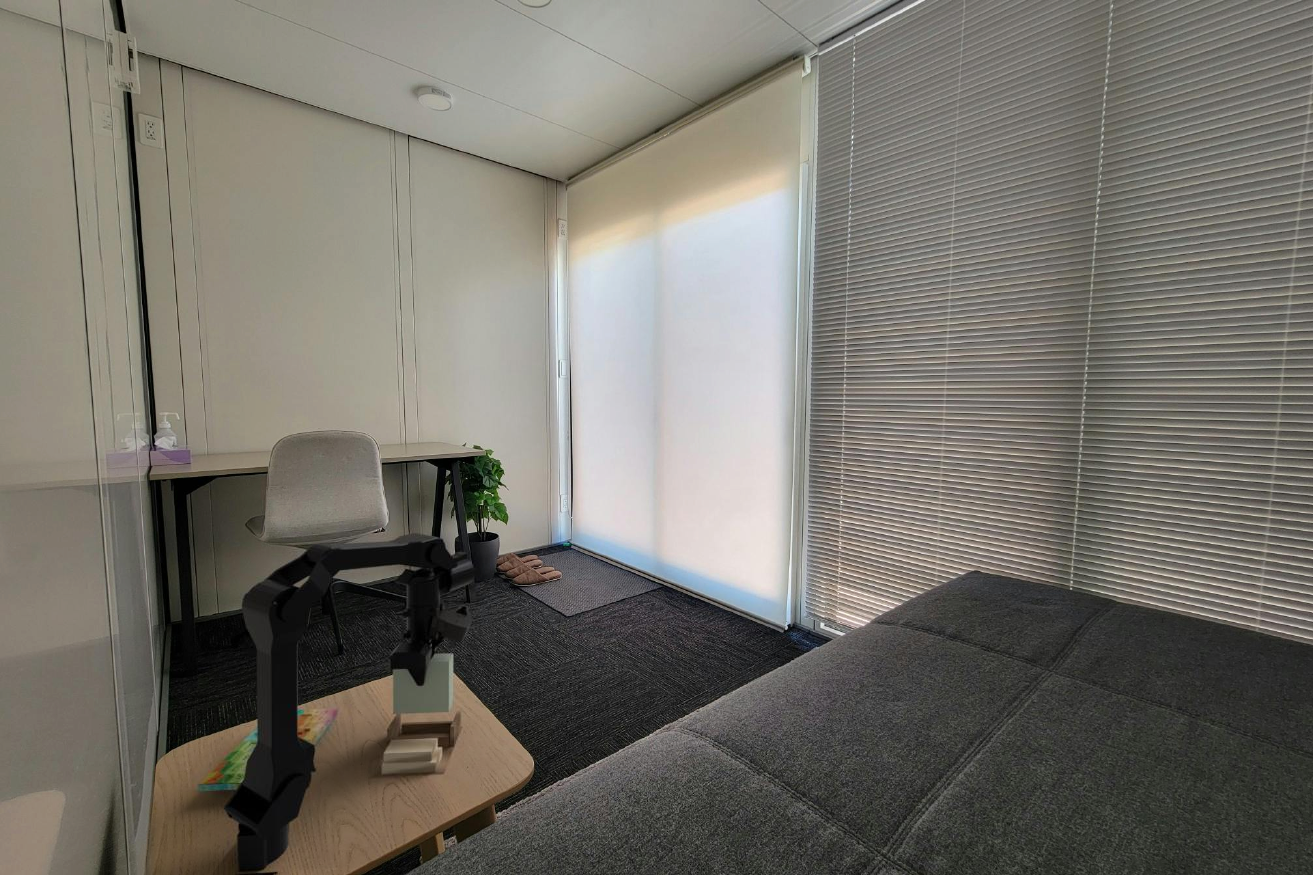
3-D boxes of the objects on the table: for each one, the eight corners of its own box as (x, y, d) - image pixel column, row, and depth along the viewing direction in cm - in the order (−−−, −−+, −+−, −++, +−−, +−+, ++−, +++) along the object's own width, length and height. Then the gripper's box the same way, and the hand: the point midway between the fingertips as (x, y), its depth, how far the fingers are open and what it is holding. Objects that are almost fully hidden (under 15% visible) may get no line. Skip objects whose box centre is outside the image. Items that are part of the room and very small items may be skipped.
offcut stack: (435, 771, 92) (435, 752, 92) (381, 774, 91) (381, 755, 91) (442, 756, 96) (442, 737, 96) (390, 758, 95) (390, 739, 95)
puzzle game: (337, 704, 105) (276, 776, 85) (338, 726, 106) (276, 803, 86) (275, 705, 104) (198, 779, 84) (275, 727, 104) (199, 806, 85)
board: (448, 711, 99) (449, 661, 98) (393, 713, 98) (392, 662, 97) (453, 702, 102) (453, 653, 101) (399, 704, 101) (398, 654, 100)
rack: (443, 778, 92) (443, 751, 92) (371, 782, 91) (371, 755, 90) (462, 731, 105) (462, 707, 104) (399, 733, 103) (398, 709, 103)
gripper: (455, 621, 90) (454, 708, 91) (478, 582, 108) (478, 655, 110) (386, 622, 89) (387, 710, 90) (422, 583, 107) (422, 656, 108)
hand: (423, 680), depth 100 cm, fingers closed on board, 3 cm apart
